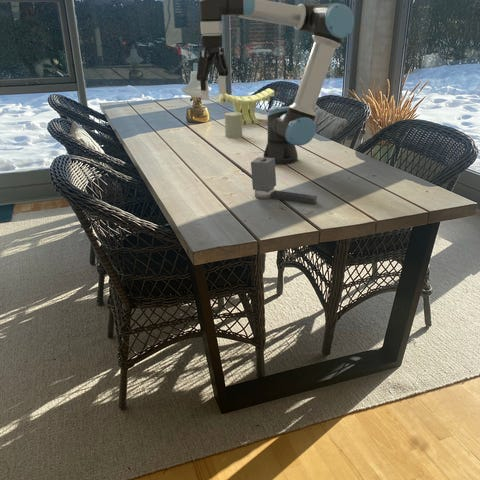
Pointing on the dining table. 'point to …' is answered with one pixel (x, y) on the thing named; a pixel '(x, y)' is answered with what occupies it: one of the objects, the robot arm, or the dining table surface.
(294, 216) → the dining table surface
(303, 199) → the ratchet
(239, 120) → the can
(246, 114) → the slatted curved stool
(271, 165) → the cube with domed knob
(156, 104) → the dining table surface
